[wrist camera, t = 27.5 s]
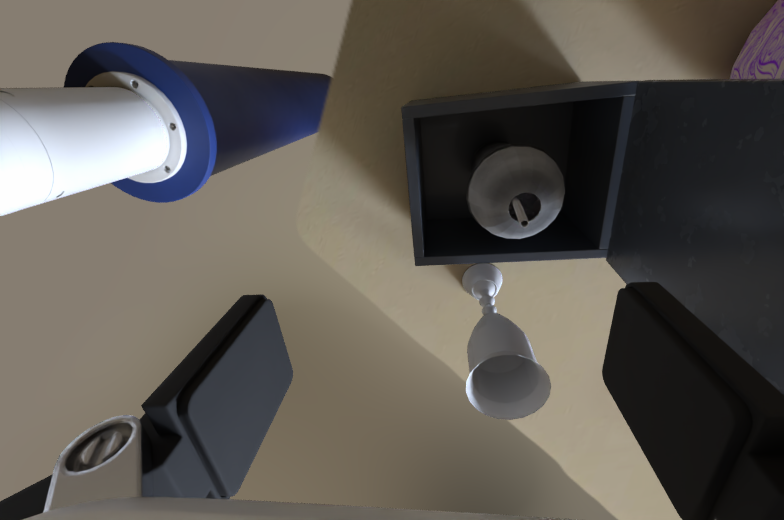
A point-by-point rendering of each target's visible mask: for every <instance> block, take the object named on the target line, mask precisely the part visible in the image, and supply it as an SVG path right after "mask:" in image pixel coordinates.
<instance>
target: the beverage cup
mask: <svg viewBox="0 0 784 520" xmlns="http://www.w3.org/2000/svg"><path fill="white" fill-rule="evenodd" d="M564 194H565V187H564V180H563V175H562V173H561V170H560V168H559V166H558V164H557V163H556V161H555V159H554V158H553V157H552V156H551V155H550V154H548V153H547V152H546V151H545V150H543V149H542V148H539V147H536V146H533V145H530V144H510V143H506V142H503V141H490V142H486V143H484V144H483V145H481V146H480V147H479V148H478V149H477V150H476V151H475V153H474V155H473V158H472V161H471V176H470V179H469V181H468V183H467V193H466V200H467V204H468V207H469V211H470V213H471V214H472V216H473V217H474V219H475V220H476V222H477V223H479V224H480V225H481V226H482V227H484V228H485V229H486V230H488V231H489V232H490V233H492V234H494V235H497V236H500V237H503V238H511V239H521V238H525V237H529V236H533V235H535V234H537V233H538V232H540V231H542V230H544V229H545V228H546V227H547V226H548V225H549V224H550V223H551V222H552V221H553V220H554V219H555V218H556V216H557V215H558V213H559V211H560V209H561V207H562V204H563V199H564Z"/></svg>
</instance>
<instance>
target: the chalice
mask: <svg viewBox="0 0 784 520" xmlns="http://www.w3.org/2000/svg"><path fill="white" fill-rule="evenodd" d="M502 279H503V278H502V275H501V272H500V271H499V270H498V268H496V267H495V266H493V265H491V264H487V263H479V264H475V265H473V266H471V267H470V268H468V269H467V271H466V272H465V273H464V275H463V278H462V284H463V287H464V289H465V290H466V292H467V293H469V294H470V295H471V296H472V297H474V298H475V299H478V300H480V301H479V303H480V305H481V306H482V307H483V309H482V313H483V315H484V316H483V317H482V318H481V319H480V320H479V322H478V323H477V325H476V326H475V327H474V330H473V332H472V334H471V337H470V340H469V342H468V349H467V353H468V362H469V370H470V375H469V377H468V379H467V381H466V392H467V396H468V398H469V401H470V402H471V403H472V404H473V406H474V407H475V408H476V409H477V410H479V411H480V412H482V413H483V414H485V415H487V416H490V417H493V418H497V419H508V420H511V419H517V418H523V417H526V416H528V415H530V414H532V413H535V412H536V411H537V410H538V409H540V408H541V407H542V406H543V405H544V404H545V402H546V401H547V399H548V397H549V395H550V389H551V383H550V379H549V376H548V374H547V373H546V371H545V370H544V368H543V367H542V366H540V365H539V364H538V363H537V361H536V358H535V356H534V353H533V350H532V347H531V345H530V342H529V339H528V338H527V336H526V335H525V333H524V332H523V331H522V330H521V329H520V328H519V327H518V326H517V325H516V324H514V323H513V322H512V321H510V320H509V319H507V318H505V317H504V316H502V315H500V314H498V313H496V311H497V310H496V308H495V306H493V305H494V303H495V300H494V298H493V297H494V296H495V295H496V294H497V293H498V291H499V289H500V287H501V285H502Z"/></svg>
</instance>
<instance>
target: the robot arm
mask: <svg viewBox="0 0 784 520" xmlns="http://www.w3.org/2000/svg"><path fill="white" fill-rule="evenodd" d="M186 151H187V140H186V133H185V129H184V126H183V123H182V120H181V118H180V116H179V114H178V112H177V110H176V109H175V107H174V106H173V104H172V103H171V101H170V100H169V99H168V98H167V97H166V96H165V94H164V93H163V92H162V91H161V90H159V89H158V88H157V87H156V86H155V85H154V84H152V83H150V82H149V81H147V80H146V79H144V78H142V77H139V76H137V75H135V74H131V73H126V72H114V71H112V72H105V73H101V74H99V75H97V76H95V77H94V78H93V79H91V80H90V81H89V82H88V83H87V85H86V86H85V87H76V88H0V216H2V215H6V214H9V213H12V212H15V211H19V210H22V209H25V208H28V207H31V206H35V205H38V204H42V203H45V202H48V201H52V200H55V199H58V198H61V197H65V196H68V195H71V194H75V193H78V192H81V191H84V190H88V189H91V188H94V187H97V186H101V185H104V184H107V183H111V182H114V181H117V180H121V179H124V178H129V179H131V180H134V181H138V182H142V183H155V182H160V181H163V180H166V179H168V178H170V177H172V176H173V175H175V174H176V173H177V172H178V171H179V169H180V168H181V166H182V164H183V163H184V160H185V156H186ZM602 375H603V380H604V382H605V385H606V386H607V388H608V390H609V392H610V394H611V395H612V397H613V399H614V401H615V402H616V404H617V406H618V408H619V410H620V411H621V413H622V415H623V417H624V418H625V420H626V422H627V424H628V426H629V427H630V429H631V431H632V433H633V435H634V436H635V438H636V440H637V442H638V443H639V445H640V447H641V449H642V451H643V452H644V454H645V456H646V458H647V459H648V461H649V463H650V465H651V467H652V468H653V470H654V472H655V474H656V475H657V477H658V479H659V481H660V483H661V484H662V486H663V488H664V490H665V491H666V493H667V495H668V497H669V499H670V500H671V502H672V504H673V506H674V507H675V509H676V511H677V513H678V514H679V516H680V517H681V518H682V519H683V520H784V395H783V394H782V393H781V392H780V391H779V390H778V389H776V388H775V387H774V386H773V385H772V384H771V383H770V382H769V381H767V380H766V379H765V378H764V377H763V376H762V375H761V374H760V373H759V372H757V371H756V370H755V369H754V368H753V367H752V366H751V365H750V364H749V363H747V362H746V361H745V360H744V359H743V358H742V357H741V356H740V355H738V354H737V353H736V352H735V351H734V350H733V349H732V348H731V347H730V346H728V345H727V344H726V343H725V342H724V341H723V340H722V339H721V338H719V337H718V336H717V335H716V334H715V333H714V332H713V331H712V330H711V329H709V328H708V327H707V326H706V325H705V324H704V323H703V322H702V321H701V320H699V319H698V318H697V317H696V316H695V315H694V314H693V313H692V312H690V311H689V310H688V309H687V308H686V307H685V306H684V305H683V304H682V303H680V302H679V301H678V300H677V299H676V298H675V297H674V296H673V295H671V294H670V293H669V292H668V291H667V290H666V289H665V288H664V287H663V286H661V285H660V284H659V283H657V282H630V283H628V284H627V285H626V287H625V288H622V289H620V290H619V292H618V295H617V300H616V305H615V310H614V315H613V319H612V324H611V329H610V334H609V339H608V344H607V349H606V354H605V359H604V364H603V369H602ZM292 377H293V370H292V366H291V363H290V359H289V356H288V353H287V349H286V346H285V343H284V339H283V336H282V332H281V330H280V326H279V323H278V319H277V316H276V313H275V309H274V306H273V303H272V301H271V300H269V299H267V298H266V297H265V296H264V295H243V296H242V297H240V299H239V300H238V301H237V302H236V303H235V304H234V305H233V306H232V307H231V309H229V310H228V312H227V313H226V314H225V315H224V316H223V317H222V318H221V319H220V320H219V321H218V323H217V324H216V325H215V326H214V327H213V328H212V329H211V330H210V332H208V333H207V335H206V336H205V337H204V338H203V339H202V340H201V341H200V342H199V343H198V344H197V346H196V347H195V348H194V349H193V350H192V351H191V352H190V353H189V354H188V355H187V356H186V357H185V359H184V360H183V361H182V362H181V363H180V364H179V365H178V366H177V367H176V368H175V369H174V371H173V372H172V373H171V374H170V375H169V376H168V377H167V378H166V379H165V380H164V381H163V382H162V384H161V385H160V386H159V387H158V388H157V389H156V390H155V391H154V392H153V393H152V394H151V396H150V397H149V398H148V399H147V400H146V401H145V402H144V403H143V404H142V405H141V406H142V408H143V410H144V411H145V414H144V415H143V417H142V418H141V419H140V420H139V419H138V418H136V417H135V416H129V415H123V416H117V417H113V418H110V419H107V420H105V421H102V422H100V423H99V424H96V425H95V426H93V427H91V428H89V429H88V430H86V431H85V432H83V433H82V434H81V435H79V436H78V437H77V438H76V439H74V440H73V441H72V442H71V443H70V444H69V445H68V446H67V447H66V448H65V449H64V451H63V452H62V454H61V455H60V456H59V458H58V460H57V462H56V464H55V467H54V471H53V474H52V475H50V476H49V477H47V478H45V479H43V480H41V481H39V482H37V483H35V484H33V485H31V486H29V487H27V488H25V489H23V490H22V491H20V492H18V493H16V494H14V495H12V496H10V497H8V498H6V499H4V500H2V501H1V502H0V520H575V519H560V518H543V517H529V516H514V515H498V514H480V513H464V512H448V511H431V510H413V509H397V508H380V507H363V506H345V505H325V504H308V503H307V504H306V503H289V502H271V501H269V502H268V501H252V500H233V499H229V498H230V496H234V495H235V494H236V493H237V492H238V490H239V489H240V486H241V484H242V482H243V480H244V478H245V476H246V474H247V472H248V470H249V468H250V465H251V464H252V462H253V460H254V457H255V456H256V454H257V452H258V449H259V447H260V445H261V443H262V441H263V439H264V437H265V435H266V433H267V431H268V429H269V427H270V425H271V423H272V421H273V419H274V416H275V415H276V412H277V410H278V408H279V406H280V404H281V402H282V400H283V398H284V396H285V394H286V392H287V390H288V388H289V386H290V384H291V381H292Z"/></svg>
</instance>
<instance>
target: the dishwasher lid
mask: <svg viewBox="0 0 784 520" xmlns="http://www.w3.org/2000/svg"><path fill="white" fill-rule="evenodd" d="M606 261H607V262H608V263H609V264H610V266H611V267H612V268H613V269H614V270H615V271H616V272H617V274H618V275H619V276H620V277H621V278H622V279H623V280H624V282H625V283H626V284H628V283H630V282H657V283H659V284H660V285H661V286H663V287H664V288H665V289H666V290H667V291H668V292H669V293H670V294H671V295H673V296H674V297H675V298H676V299H677V300H678V301H679V302H680V303H682V304H683V305H684V306H685V307H686V308H687V309H688V310H689V311H690V312H692V313H693V314H694V315H695V316H696V317H697V318H698V319H699V320H701V321H702V322H703V323H704V324H705V325H706V326H707V327H708V328H709V329H711V330H712V331H713V332H714V333H715V334H716V335H717V336H718V337H719V338H721V339H722V340H723V341H724V342H725V343H726V344H727V345H728V346H730V347H731V348H732V349H733V350H734V351H735V352H736V353H737V354H738V355H740V356H741V357H742V358H743V359H744V360H745V361H746V362H747V363H749V364H750V365H751V366H752V367H753V368H754V369H755V370H756V371H757V372H759V373H760V374H761V375H762V376H763V377H764V378H765V379H766V380H767V381H769V382H770V383H771V384H772V385H773V386H774V387H775V388H776V389H778V390H779V391H780V392H781V393H782V394H783V395H784V79H699V80H645V81H638V83H637V88H636V94H635V99H634V105H633V111H632V116H631V122H630V127H629V133H628V139H627V144H626V150H625V156H624V161H623V167H622V173H621V178H620V184H619V190H618V195H617V201H616V207H615V212H614V218H613V223H612V229H611V235H610V240H609V246H608V252H607V257H606Z"/></svg>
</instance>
